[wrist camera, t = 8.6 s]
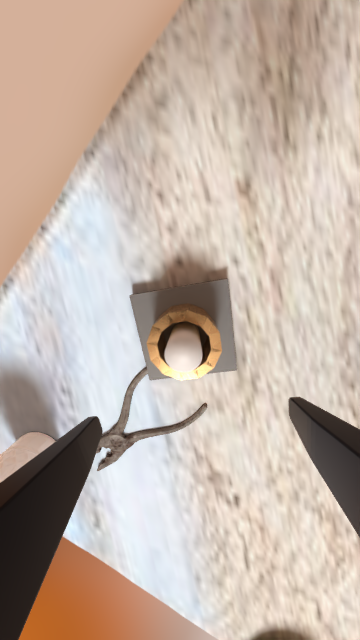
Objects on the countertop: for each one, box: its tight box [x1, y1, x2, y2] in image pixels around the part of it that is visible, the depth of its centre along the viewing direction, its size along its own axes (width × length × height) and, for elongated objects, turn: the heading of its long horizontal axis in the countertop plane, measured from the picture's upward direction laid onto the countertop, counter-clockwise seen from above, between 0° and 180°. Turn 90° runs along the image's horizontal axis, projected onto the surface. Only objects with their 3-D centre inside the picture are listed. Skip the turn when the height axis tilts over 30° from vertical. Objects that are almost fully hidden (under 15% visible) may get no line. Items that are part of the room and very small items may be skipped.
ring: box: [147, 303, 222, 380], centre depth 17 cm, size 6×6×4 cm
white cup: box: [0, 432, 56, 483], centre depth 21 cm, size 8×8×10 cm
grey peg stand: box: [130, 279, 237, 380], centre depth 17 cm, size 10×10×6 cm
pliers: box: [96, 367, 207, 471], centre depth 24 cm, size 10×1×20 cm
